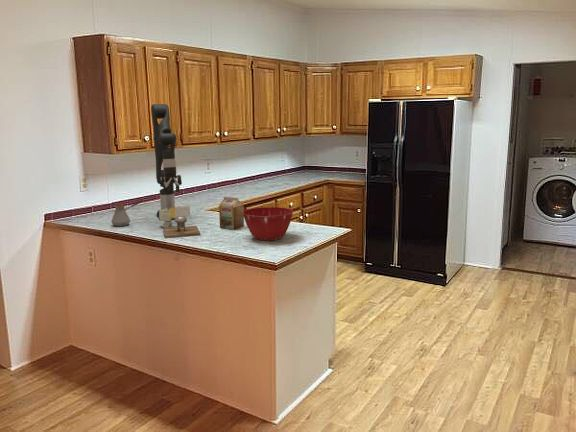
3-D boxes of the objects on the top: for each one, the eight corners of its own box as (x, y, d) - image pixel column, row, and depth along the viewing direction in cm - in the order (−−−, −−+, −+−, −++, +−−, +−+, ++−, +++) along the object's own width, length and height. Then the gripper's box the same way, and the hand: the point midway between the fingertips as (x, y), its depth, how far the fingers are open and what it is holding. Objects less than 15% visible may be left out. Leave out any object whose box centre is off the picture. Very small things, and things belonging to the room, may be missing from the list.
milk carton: (244, 226, 313) (243, 196, 309) (233, 230, 304) (232, 199, 300) (230, 225, 318) (229, 195, 314) (219, 228, 309) (218, 197, 306)
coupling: (170, 221, 299) (169, 206, 298) (189, 219, 302) (188, 205, 301) (171, 223, 293) (170, 208, 291) (190, 222, 296) (190, 207, 294)
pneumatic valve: (160, 225, 319) (159, 207, 316) (178, 226, 316) (176, 207, 314) (156, 227, 313) (155, 208, 311) (174, 228, 311) (173, 209, 309)
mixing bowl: (243, 232, 298) (242, 206, 295) (291, 231, 300) (291, 205, 297) (242, 245, 271) (241, 216, 267) (295, 243, 272) (295, 215, 269)
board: (163, 230, 306) (162, 220, 304) (196, 228, 311) (196, 217, 310) (165, 238, 287) (164, 227, 286) (200, 235, 292) (199, 224, 291)
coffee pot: (113, 228, 314) (111, 204, 311) (110, 224, 323) (108, 201, 320) (148, 224, 324) (146, 201, 321) (143, 220, 334) (142, 198, 331)
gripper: (175, 165, 315) (177, 191, 317) (156, 167, 304) (158, 194, 307) (182, 165, 310) (185, 191, 313) (163, 167, 299) (165, 194, 302)
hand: (171, 192), depth 310 cm, fingers open, 8 cm apart
